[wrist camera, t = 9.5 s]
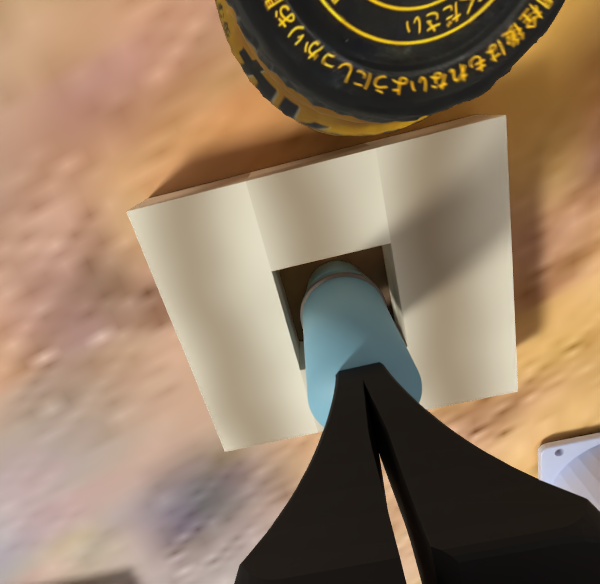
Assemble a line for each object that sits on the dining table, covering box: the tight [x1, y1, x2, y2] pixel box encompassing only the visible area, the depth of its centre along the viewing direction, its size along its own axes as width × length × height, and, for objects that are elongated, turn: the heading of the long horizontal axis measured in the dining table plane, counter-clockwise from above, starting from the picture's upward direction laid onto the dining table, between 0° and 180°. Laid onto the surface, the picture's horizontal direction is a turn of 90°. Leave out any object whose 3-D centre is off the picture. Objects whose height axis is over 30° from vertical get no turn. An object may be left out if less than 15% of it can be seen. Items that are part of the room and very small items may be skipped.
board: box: [127, 114, 518, 452], centre depth 19 cm, size 14×12×2 cm
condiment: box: [215, 0, 565, 136], centre depth 11 cm, size 7×8×12 cm
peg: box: [300, 261, 422, 427], centre depth 16 cm, size 4×4×8 cm
